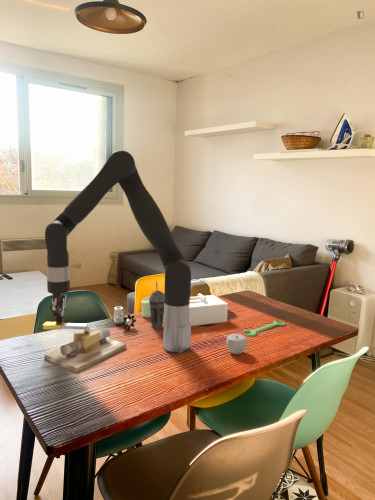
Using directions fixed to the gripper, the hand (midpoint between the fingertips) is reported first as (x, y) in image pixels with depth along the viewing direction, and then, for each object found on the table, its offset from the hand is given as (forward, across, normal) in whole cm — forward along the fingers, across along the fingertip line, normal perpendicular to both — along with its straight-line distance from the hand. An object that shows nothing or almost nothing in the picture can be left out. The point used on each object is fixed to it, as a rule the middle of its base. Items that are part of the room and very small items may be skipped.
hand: (59, 325), depth 133 cm
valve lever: (+1, -3, -4) cm, 5 cm away
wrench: (+10, +23, -80) cm, 84 cm away
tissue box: (+10, +33, -51) cm, 61 cm away
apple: (+9, -1, -64) cm, 64 cm away
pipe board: (+9, -4, -10) cm, 14 cm away
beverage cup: (+9, +23, -34) cm, 42 cm away
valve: (+9, +24, -19) cm, 32 cm away
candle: (+9, +36, -29) cm, 47 cm away
